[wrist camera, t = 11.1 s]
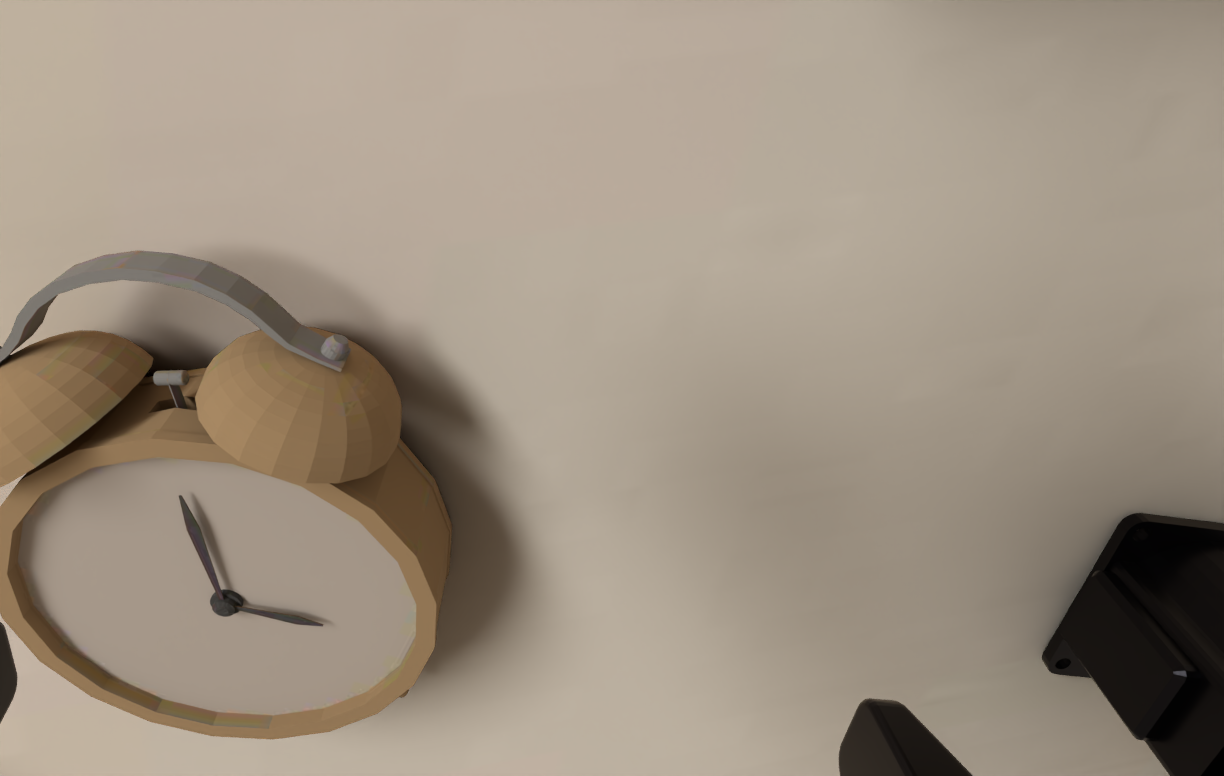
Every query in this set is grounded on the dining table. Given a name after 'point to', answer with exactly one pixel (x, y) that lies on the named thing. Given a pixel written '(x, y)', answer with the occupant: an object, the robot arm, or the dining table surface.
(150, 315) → the dining table surface
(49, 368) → the alarm clock
